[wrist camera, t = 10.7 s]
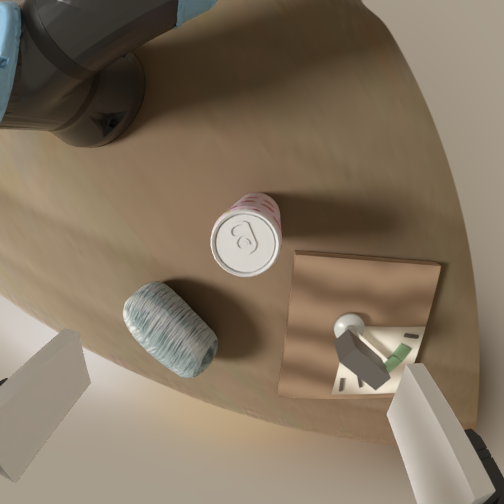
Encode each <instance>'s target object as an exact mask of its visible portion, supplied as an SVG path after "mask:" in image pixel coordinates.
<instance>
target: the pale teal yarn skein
mask: <svg viewBox="0 0 504 504" xmlns="http://www.w3.org/2000/svg"><path fill="white" fill-rule="evenodd" d="M123 317H124V321H125V324H126V326H127V328H128V329H129V331H130V332H131V334H132V335H133V336H134V338H135V339H136V340H137V341H138V342H139V344H140V345H141V346H142V347H143V348H144V349H145V350H146V351H147V352H148V353H149V354H150V355H152V356H153V357H154V358H156V359H157V360H158V361H159V362H160V363H162V364H163V365H164V366H166V367H167V368H169V369H170V370H171V371H173V372H175V373H176V374H177V375H179V376H181V377H184V378H192V377H195V376H198V375H199V374H200V373H202V372H203V371H204V370H205V369H206V368H207V367H208V366H209V365H210V363H211V362H212V360H213V359H214V357H215V355H216V352H217V349H218V339H217V337H216V335H215V333H214V332H213V330H211V329H210V328H209V326H208V325H207V324H206V323H205V322H204V321H203V320H202V319H201V318H200V317H199V316H198V315H197V314H196V313H195V312H194V311H193V310H192V309H191V308H190V306H189V305H188V304H187V303H186V302H185V301H184V300H183V299H182V298H181V297H180V296H178V295H177V294H176V293H175V292H174V290H172V289H171V288H170V287H168V286H167V285H166V284H164V283H162V282H159V281H156V282H151V283H148V284H146V285H144V286H142V287H141V288H140V289H138V290H137V291H136V292H135V293H134V294H133V295H132V296H131V297H130V298H129V299H128V300H127V301H126V302H125V305H124V309H123Z"/></svg>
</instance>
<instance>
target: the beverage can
mask: <svg viewBox="0 0 504 504" xmlns="http://www.w3.org/2000/svg"><path fill="white" fill-rule="evenodd" d="M281 247H282V233H281V219H280V211H279V208H278V205H277V204H276V202H275V201H274V200H273V199H272V198H271V197H270V196H268V195H266V194H263V193H258V192H256V193H250V194H247V195H245V196H243V197H242V198H241V199H240V200H238V201H237V202H236V203H235V204H234V205H233V206H232V207H231V208H229V209H228V210H227V211H226V212H225V213H224V214H223V215H222V216H220V218H219V219H218V220H217V222H216V223H215V225H214V227H213V230H212V234H211V249H212V253H213V255H214V258H215V260H216V261H217V262H218V264H219V265H220V266H221V267H222V268H223V269H224V270H226V271H227V272H229V273H231V274H233V275H236V276H241V277H252V276H256V275H259V274H261V273H263V272H265V271H267V270H268V269H269V268H270V267H271V266H272V265H273V264H274V263H275V261H276V260H277V258H278V256H279V254H280V251H281Z"/></svg>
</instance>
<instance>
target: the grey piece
mask: <svg viewBox="0 0 504 504" xmlns="http://www.w3.org/2000/svg"><path fill="white" fill-rule="evenodd" d="M364 330H365V325H364V322H363V320H362V318H361V317H360V316H359V315H358V314H356V313H352V312H349V313H345V314H343V315H341V316H339V317H338V318H337V320H336V321H335V323H334V332H335V335H336V337H337V339H336V340H335V341H334V345H335V348H336V352H337V355H338V359H339V362H340V363H341V364H343V365H344V366H345V367H346V368H348V369H349V370H350V371H351V372H353V373H354V374H355V375H357V376H358V377H359V378H360V379H362V380H363V381H364V382H365V383H367V384H368V385H369V386H371V387H372V388H373V389H374V390H377V389H378V388H380V387H381V386H382V385H383V384H384V383H386V382H387V381H388V380H389V379H390V378H391V377H390V375H389V373H388V371H387V369H386V367H385V364H384V363H385V362H386V361H387V360H388V359H387V357H386V356H385V355H384V354H382V353H381V352H380V351H379V350H378V349H377V348H376V347H375V346H374V345H372V344H371V343H370V342H369V341H368V340H367V339H366V338H365V337H364V336H363V333H364Z"/></svg>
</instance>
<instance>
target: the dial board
mask: <svg viewBox="0 0 504 504" xmlns="http://www.w3.org/2000/svg"><path fill="white" fill-rule="evenodd" d="M440 269H441V266H440V265H439V264H437V263H436V262H431V261H420V260H408V259H395V258H383V257H371V256H359V255H346V254H334V253H322V252H309V251H296V250H295V252H294V262H293V272H292V281H291V290H290V299H289V308H288V316H287V325H286V333H285V341H284V348H283V356H282V363H281V371H280V378H279V385H278V397H286V398H311V399H361V398H385V397H394V396H395V393H396V390H397V388H398V385H399V383H400V380H401V377H402V375H403V372H404V369H405V366H406V364H414V362H415V359H416V356H417V353H418V350H419V347H420V344H421V341H422V338H423V335H424V332H425V328H426V324H427V320H428V317H429V313H430V310H431V306H432V302H433V298H434V294H435V290H436V286H437V282H438V278H439V273H440ZM349 312H352V313H356V314H358V315H359V316H360V317H361V318H362V320H363V322H364V325H365V330H364V333H363V336H364V337H365V338H366V339H367V340H368V341H369V342H370V343H371V344H372V345H374V346H375V347H376V348H377V349H378V350H379V351H380V352H381V353H382V354H384V355H385V356H386V357H387V359H388V360H387V361H386V362H385V363H384V364H385V367H386V369H387V371H388V373H389V375H390V377H391V378H390V379H389V380H388V381H387V382H386V383H384V384H383V385H382V386H381V387H380V388H378V389H377V390H374V389H373V388H372V387H371V386H369V385H368V384H367V383H365V382H364V381H363V380H362V379H360V378H359V377H358V376H357V375H355V374H354V373H353V372H351V371H350V370H349V369H348V368H346V367H345V366H344V365H343V364H341V363H340V362H339V359H338V355H337V352H336V348H335V345H334V341H335V340H336V339H337V337H336V335H335V332H334V323H335V321H336V320H337V318H338V317H339V316H341V315H343V314H345V313H349Z"/></svg>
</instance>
